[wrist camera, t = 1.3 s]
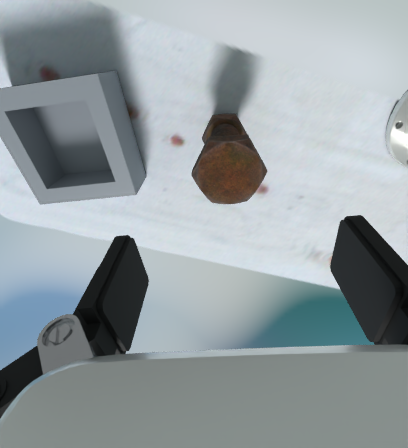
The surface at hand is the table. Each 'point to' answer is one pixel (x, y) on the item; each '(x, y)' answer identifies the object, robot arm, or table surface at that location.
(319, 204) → the table surface
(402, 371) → the robot arm
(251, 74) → the table surface
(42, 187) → the socket block
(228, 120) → the bolt
